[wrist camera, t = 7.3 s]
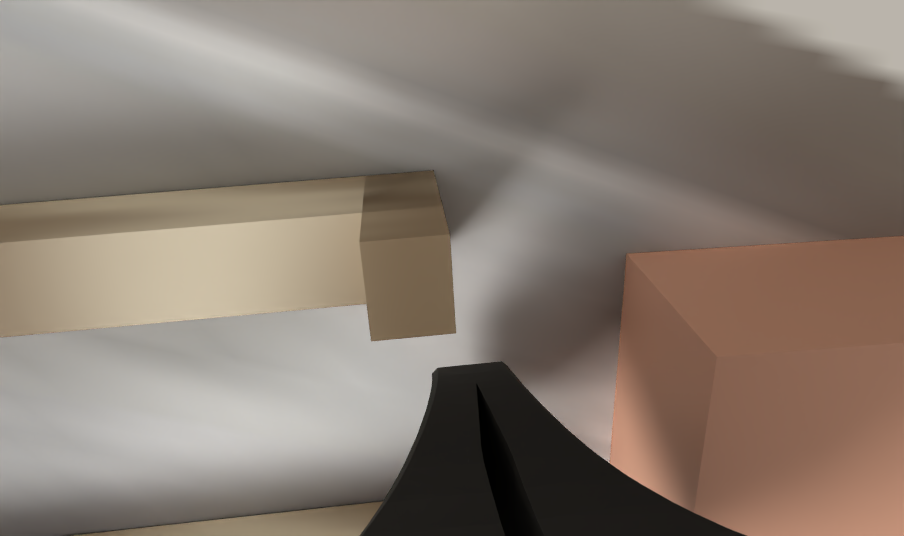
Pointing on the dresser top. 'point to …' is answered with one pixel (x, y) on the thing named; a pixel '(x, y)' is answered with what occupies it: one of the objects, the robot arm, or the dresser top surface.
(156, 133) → the dresser top surface
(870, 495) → the block
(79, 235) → the chute
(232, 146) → the dresser top surface
